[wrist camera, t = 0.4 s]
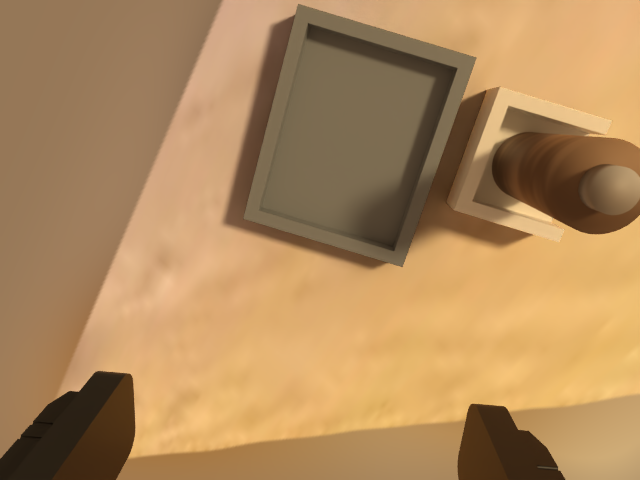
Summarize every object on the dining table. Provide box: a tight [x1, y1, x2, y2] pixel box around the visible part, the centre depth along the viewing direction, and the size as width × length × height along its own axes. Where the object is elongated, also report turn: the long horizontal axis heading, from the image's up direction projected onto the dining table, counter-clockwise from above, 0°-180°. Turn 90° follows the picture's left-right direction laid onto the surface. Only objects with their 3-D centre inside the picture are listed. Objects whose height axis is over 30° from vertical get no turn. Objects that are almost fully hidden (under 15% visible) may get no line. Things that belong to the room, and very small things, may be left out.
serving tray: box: [243, 4, 476, 267], centre depth 37 cm, size 16×13×2 cm
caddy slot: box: [446, 87, 612, 242], centre depth 36 cm, size 9×8×4 cm
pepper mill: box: [492, 132, 640, 234], centre depth 30 cm, size 5×5×13 cm
